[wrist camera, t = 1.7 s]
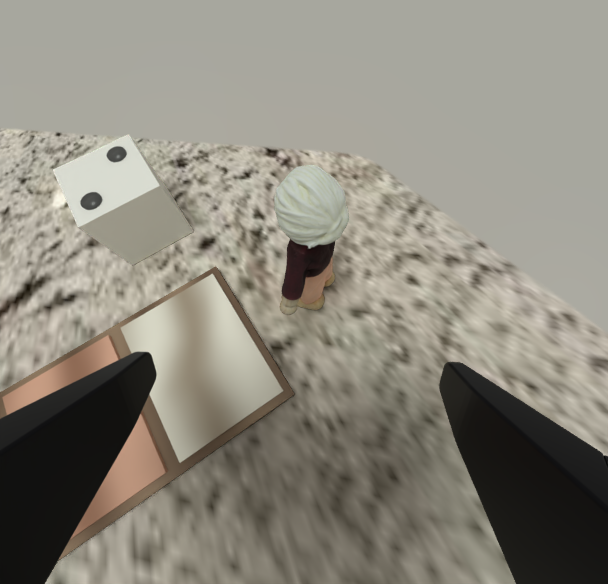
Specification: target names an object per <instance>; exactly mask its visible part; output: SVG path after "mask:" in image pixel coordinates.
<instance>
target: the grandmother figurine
mask: <svg viewBox="0 0 608 584" xmlns="http://www.w3.org/2000/svg"><path fill="white" fill-rule="evenodd" d="M274 200H275V203H274V205H275V206H274V210H275V212H276V216H277V220H278V224H279V227H280V228H281V230H282V231H283V232H284V233H285V234H286V235H287V236H288V237H289V238H290V241H289V244H288V247H287V266H286V273H285V279H284V283H283V286H282V301H281V303H280V310H281V311H282V313H284V314H286V315H291V314H293V313H294V312H295V311H296V309H297V306H299V307H302V308H307V309H312V310H318V309H320V308H321V307H322V306H323V304H324V301H325V298H324V295H323V294H322V292H323V288H324V287H327V286H330V285H331V284H332V283H333V281H334V280H335V274H334V273H333V271H332V270H333V265H332V264H333V258H332V255H333V251H334V245H335V241H336V240H337V239H338V238H339V237H340V236H341V234H342V232H343V231H344V229H345V228H346V226H347V223H348V220H349V213H348V208H347V205H346V203H345V193H344V191H343V189H342V188H341V186H340V185H339V184H338V182H337V181H336V179H334V178H333V177H332V176H331V175H330V174H328V173H327V172H325V171H324V170H323V169H321V168H320V167H318V166H315V165H307V166H299V167H296V168H295V169H294V170H293V171H291V173H290V174H289V175H288V176H287V177H286V178H285V180H284V181H283V182H282V183H281V184H280V186H278V187H277V189H276V195H275V197H274Z"/></svg>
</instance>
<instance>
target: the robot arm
mask: <svg viewBox="0 0 608 584" xmlns="http://www.w3.org/2000/svg"><path fill="white" fill-rule="evenodd" d="M156 376H157V373H156V369H155V365H154V362H153V358H152V355H151V354H150V353H149V352H139V351H138V352H134V353H132V354H130V355H128V356H125V357H123V358H121V359H119V360H117V361H115V362H113V363H111V364H109V365H107V366H105V367H103V368H101V369H99V370H97V371H95V372H93V373H91V374H89V375H87V376H85V377H83V378H81V379H79V380H77V381H75V382H73V383H71V384H69V385H67V386H65V387H63V388H61V389H59V390H57V391H55V392H53V393H51V394H49V395H47V396H45V397H43V398H41V399H39V400H37V401H35V402H33V403H31V404H29V405H26V406H24V407H22V408H20V409H18V410H16V411H14V412H12V413H10V414H8V415H6V416H4V417H2V418H0V584H45V582H46V581H47V579H48V577H49V575H50V574H51V572H52V570H53V568H54V567H55V565H56V563H57V561H58V560H59V558H60V556H61V554H62V553H63V551H64V549H65V547H66V546H67V544H68V542H69V540H70V539H71V537H72V535H73V534H74V532H75V530H76V528H77V527H78V525H79V523H80V521H81V520H82V518H83V516H84V514H85V513H86V511H87V509H88V507H89V506H90V504H91V502H92V500H93V499H94V497H95V495H96V493H97V492H98V490H99V488H100V486H101V485H102V483H103V481H104V479H105V478H106V476H107V474H108V472H109V471H110V469H111V467H112V465H113V464H114V462H115V460H116V458H117V457H118V455H119V453H120V451H121V450H122V448H123V446H124V444H125V443H126V441H127V439H128V437H129V436H130V434H131V432H132V430H133V428H134V427H135V425H136V422H137V420H138V418H139V416H140V414H141V412H142V409H143V407H144V405H145V403H146V401H147V398H148V396H149V394H150V392H151V389H152V387H153V385H154V383H155V380H156ZM439 388H440V393H441V396H442V399H443V403H444V406H445V409H446V412H447V416H448V419H449V422H450V425H451V429H452V432H453V435H454V438H455V441H456V443H457V446H458V448H459V451H460V453H461V455H462V458H463V460H464V463H465V465H466V467H467V470H468V472H469V474H470V477H471V479H472V481H473V484H474V486H475V488H476V491H477V493H478V495H479V498H480V500H481V503H482V505H483V507H484V510H485V512H486V514H487V517H488V519H489V521H490V524H491V526H492V528H493V531H494V533H495V535H496V538H497V540H498V542H499V545H500V547H501V550H502V552H503V554H504V557H505V559H506V561H507V564H508V566H509V568H510V571H511V573H512V575H513V578H514V580H515V582H516V584H608V456H603V454H602V453H601V452H600V451H598V450H597V449H595V448H594V447H592V446H591V445H589V444H588V443H586V442H584V441H583V440H581V439H580V438H578V437H577V436H575V435H574V434H572V433H570V432H569V431H567V430H566V429H564V428H563V427H561V426H560V425H558V424H556V423H555V422H553V421H552V420H550V419H549V418H547V417H545V416H544V415H542V414H541V413H539V412H538V411H536V410H535V409H533V408H531V407H530V406H528V405H527V404H525V403H524V402H522V401H521V400H519V399H517V398H516V397H514V396H513V395H511V394H510V393H508V392H507V391H505V390H503V389H502V388H500V387H499V386H497V385H496V384H494V383H493V382H491V381H489V380H488V379H486V378H485V377H483V376H482V375H480V374H478V373H477V372H475V371H474V370H472V369H471V368H469V367H468V366H466V365H464V364H463V363H460V362H447V363H446V364H445V365H444V368H443V372H442V376H441V379H440V384H439Z"/></svg>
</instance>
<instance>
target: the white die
mask: <svg viewBox="0 0 608 584" xmlns="http://www.w3.org/2000/svg"><path fill="white" fill-rule="evenodd" d="M53 172H54V174H55V176H56V178H57V181H58V183H59V185H60V187H61V190H62V192H63V194H64V196H65V199H66V201H67V203H68V205H69V208H70V210H71V212H72V215H73V217H74V219H75V221H76V224H77V226H78V228H80V229H81V230H82V231H84V232H85V233H87V234H88V235H90V236H91V237H92V238H94V239H95V240H97V241H98V242H100V243H101V244H102V245H104V246H105V247H107V248H108V249H110V250H111V251H112V252H114V253H115V254H117V255H118V256H120V257H121V258H122V259H124V260H125V261H127V262H128V263H130V264H131V265H132V266H133V265H134V264H136V263H138V262H140V261H142V260H143V259H145V258H147V257H149V256H151V255H152V254H154V253H156V252H158V251H160V250H161V249H163V248H165V247H167V246H169V245H170V244H172V243H174V242H176V241H178V240H180V239H181V238H183V237H185V236H187V235H189V234H190V233H192V232H194V231H193V229H192V227H191V226H190V224H189V223H188V221H187V219H186V218H185V216H184V214H183V213H182V211H181V210H180V208H179V206H178V205H177V203H176V201H175V200H174V198H173V196H172V195H171V193H170V192H169V190H168V188H167V187H166V185H165V184H164V183H163V181H162V180H161V178H160V177H159V176H158V174H157V173H156V171H155V170H154V169H153V167H152V166H151V164H150V163H149V162H148V160H147V159H146V157H145V156H144V155H143V153H142V152H141V150H140V149H139V148H138V146H137V145H136V144H135V142H134V141H133V139H132V138H131V137H130V135H129V134H128V135H125V136H123V137H121V138H119V139H117V140H115V141H113V142H111V143H109V144H106V145H104V146H102V147H100V148H98V149H96V150H94V151H92V152H89V153H87V154H85V155H83V156H81V157H79V158H77V159H75V160H72V161H70V162H68V163H66V164H64V165H62V166H60V167H58V168H56V169H53Z"/></svg>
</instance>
